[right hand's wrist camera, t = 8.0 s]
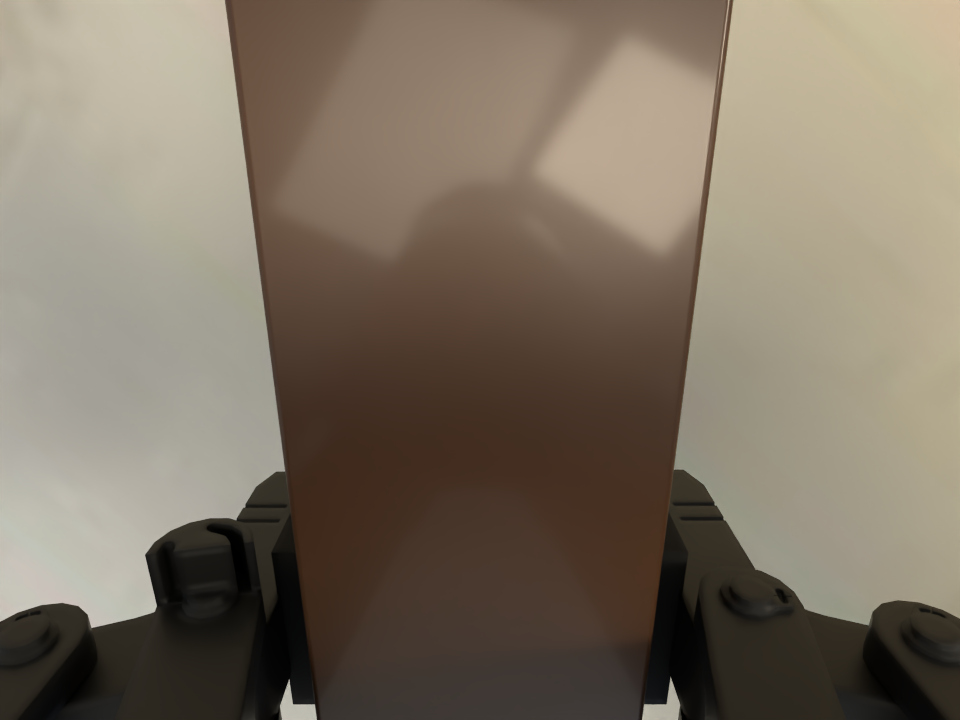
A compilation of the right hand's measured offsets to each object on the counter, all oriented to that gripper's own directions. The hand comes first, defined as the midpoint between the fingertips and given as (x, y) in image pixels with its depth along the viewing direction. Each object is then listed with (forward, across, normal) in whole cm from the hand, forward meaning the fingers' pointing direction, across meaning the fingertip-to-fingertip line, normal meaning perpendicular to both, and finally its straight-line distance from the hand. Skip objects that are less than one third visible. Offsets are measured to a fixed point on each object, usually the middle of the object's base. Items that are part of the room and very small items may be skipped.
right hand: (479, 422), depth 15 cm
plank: (0, 0, -10) cm, 10 cm away
